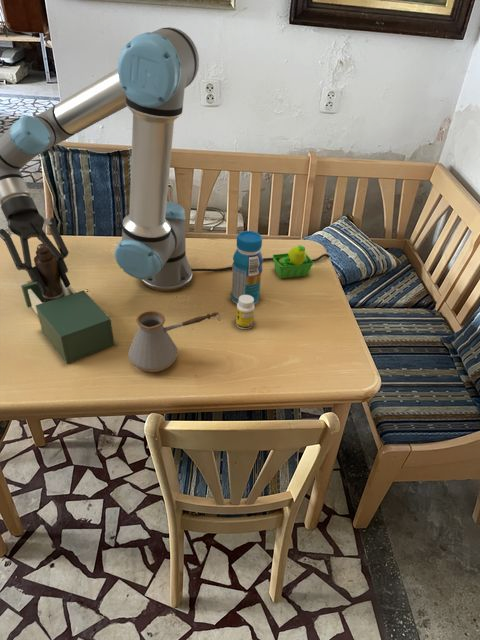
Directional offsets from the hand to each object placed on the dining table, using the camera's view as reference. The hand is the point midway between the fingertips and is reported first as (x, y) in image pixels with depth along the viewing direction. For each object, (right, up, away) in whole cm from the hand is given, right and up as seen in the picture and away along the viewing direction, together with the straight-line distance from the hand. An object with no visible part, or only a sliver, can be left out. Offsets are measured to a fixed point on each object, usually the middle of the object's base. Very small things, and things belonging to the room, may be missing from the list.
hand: (56, 289), depth 120 cm
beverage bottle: (+46, 0, +21) cm, 50 cm away
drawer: (-4, -4, +8) cm, 10 cm away
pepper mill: (-3, -3, +7) cm, 8 cm away
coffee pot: (+30, -18, -2) cm, 35 cm away
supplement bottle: (+46, -8, +12) cm, 48 cm away
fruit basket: (+60, +9, +34) cm, 70 cm away
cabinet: (+5, -12, +1) cm, 13 cm away
